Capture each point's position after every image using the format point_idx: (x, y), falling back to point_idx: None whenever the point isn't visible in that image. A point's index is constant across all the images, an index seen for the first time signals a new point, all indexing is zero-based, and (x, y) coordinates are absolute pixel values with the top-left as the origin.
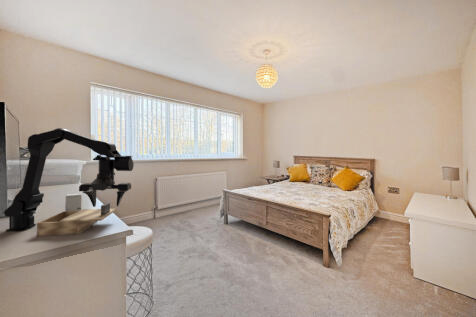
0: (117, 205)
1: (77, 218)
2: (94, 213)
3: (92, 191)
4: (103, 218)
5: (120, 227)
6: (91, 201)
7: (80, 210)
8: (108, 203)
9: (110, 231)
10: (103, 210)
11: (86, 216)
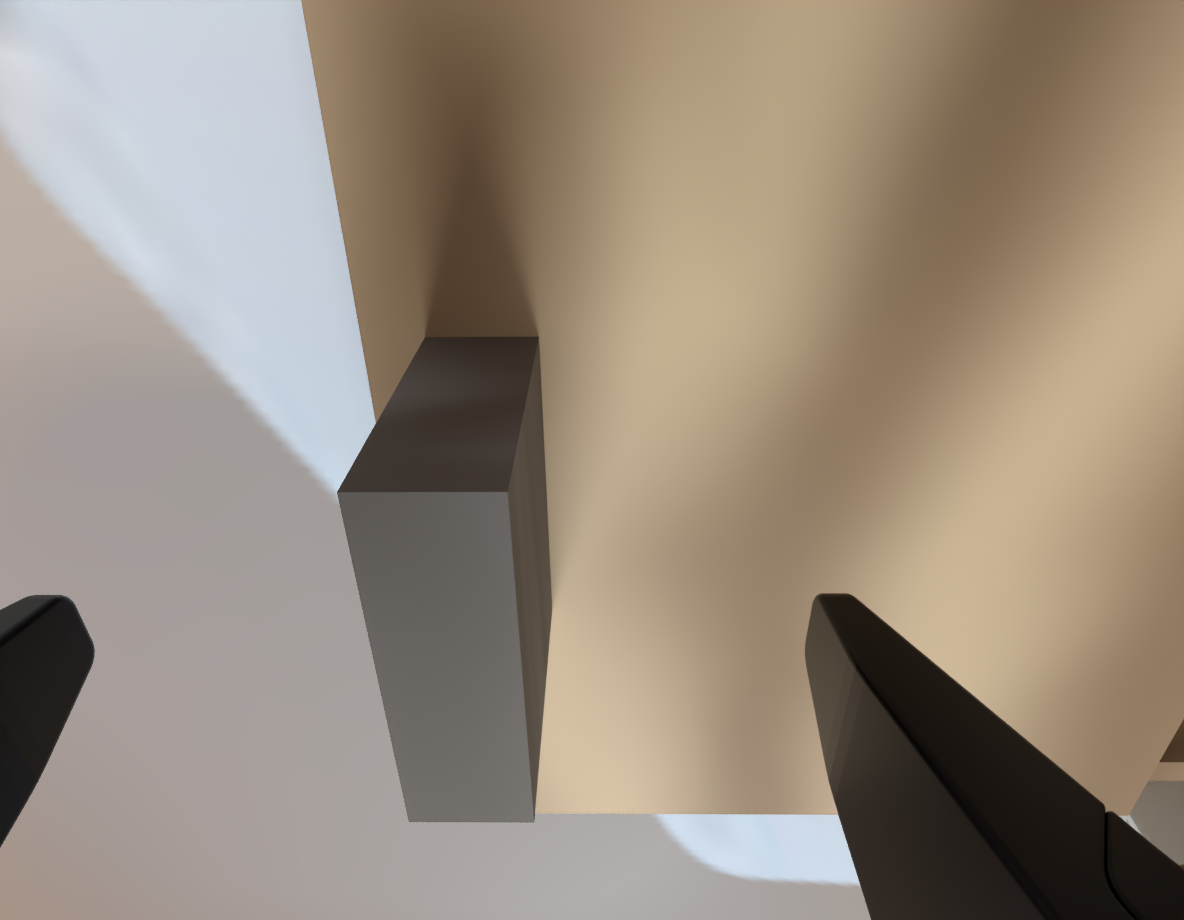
0: (9, 606)
1: (1134, 17)
2: (781, 510)
3: None
4: (318, 32)
5: (197, 252)
6: (1007, 745)
7: (1155, 843)
8: (414, 768)
9: (257, 6)
10: (443, 397)
11: (905, 238)
